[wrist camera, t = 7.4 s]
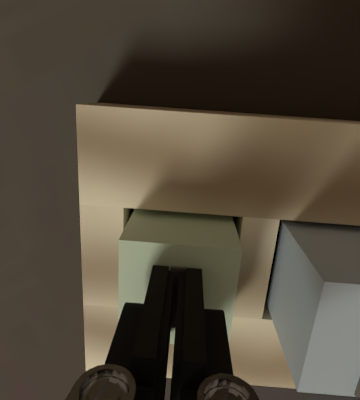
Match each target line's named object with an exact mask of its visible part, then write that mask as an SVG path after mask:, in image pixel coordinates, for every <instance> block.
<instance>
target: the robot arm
mask: <svg viewBox="0 0 360 400" xmlns="http://www.w3.org/2000/svg"><path fill="white" fill-rule="evenodd" d="M174 273H175V271H169V266H159V265H153V267H152V271H151V275H150V279H149V284H148V288H147V292H146V296H145V300H144V304H142V303H129V302H126V303H125V304H124V306H123V309H122V312H121V315H120V318H119V322H118V325H117V328H116V331H115V334H114V337H113V340H112V343H111V346H110V349H109V352H108V355H107V358H106V361H105V364H104V365H98V366H96V367H93V368H91V369H89V370H88V371H86V372H85V373H84V374H82V375H81V376H80V377H79V379H78V380H77V381H76V382H75V384H74V386H73V387H72V389H71V391H70V393H69V394H68V396H67V398H66V399H65V400H164V397H165V387H166V376H167V365H168V355H169V344H170V331H171V316H172V302H173V288H174ZM170 400H259V398H258V396H257V394H256V393H255V391H254V389H253V388H252V387H251V386H250V385H249V384H248V383H247V382H245V381H244V380H242V379H241V378H239V377H237V376H234V375H233V369H232V362H231V355H230V348H229V341H228V334H227V327H226V321H225V314H224V311H223V310H216V309H204V297H203V278H202V269H197V268H186V272H181V271H180V274H179V287H178V300H177V313H176V327H175V340H174V353H173V367H172V380H171V393H170Z"/></svg>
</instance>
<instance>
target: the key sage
mask: <svg viewBox="0 0 360 400" xmlns="http://www.w3.org/2000/svg"><path fill="white" fill-rule="evenodd" d="M242 251H243V249H242V246H241V243H240V240H239V236H238V233H237V230H236V227H235V224H234V221H233V217H232V216H225V215H212V214H199V213H186V212H173V211H160V210H147V209H134V211H133V213H132V215H131V217H130V219H129V221H128V223H127V225H126V227H125V228H124V230H123V232H122V234H121V236H120V238H119V272H118V322H119V318H120V315H121V312H122V309H123V306H124V304H125V303H126V302H129V303H142V304H144V300H145V296H146V292H147V288H148V284H149V279H150V275H151V271H152V267H153V265H159V266H169V271H175V273H174V288H173V302H172V316H171V331H170V344H174V340H175V327H176V313H177V300H178V287H179V274H180V271H181V272H186V268H197V269H202V278H203V297H204V309H216V310H223V311H224V314H225V321H226V327H227V334H228V341H230V334H231V327H232V320H233V313H234V306H235V299H236V292H237V285H238V278H239V271H240V265H241V258H242Z"/></svg>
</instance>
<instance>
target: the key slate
mask: <svg viewBox="0 0 360 400" xmlns="http://www.w3.org/2000/svg"><path fill="white" fill-rule="evenodd" d="M266 304H267V306H268V309H269V312H270V315H271V318H272V321H273V324H274V327H275V329H276V332H277V335H278V338H279V341H280V344H281V347H282V349H283V352H284V355H285V358H286V361H287V364H288V367H289V370H290V372H291V375H292V378H293V381H294V384H295V387H296V390H297V392H306V393H318V394H330V395H341V396H353V397H360V227H359V226H346V225H333V224H320V223H307V222H294V221H281V227H280V232H279V238H278V243H277V249H276V254H275V260H274V265H273V271H272V276H271V282H270V287H269V293H268V298H267V303H266Z"/></svg>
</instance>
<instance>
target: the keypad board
mask: <svg viewBox="0 0 360 400" xmlns="http://www.w3.org/2000/svg"><path fill="white" fill-rule="evenodd" d="M76 122H77V149H78V175H79V202H80V228H81V254H82V281H83V307H84V334H85V360H86V371H88V370H89V369H91V368H93V367H96V366H98V365H104V364H105V361H106V358H107V355H108V352H109V349H110V346H111V343H112V340H113V337H114V334H115V331H116V328H117V325H118V272H119V238H120V236H121V234H122V232H123V230H124V228H125V227H126V225H127V223H128V221H129V219H130V217H131V215H132V213H133V211H134V209H147V210H160V211H173V212H186V213H199V214H212V215H225V216H232V217H233V221H234V224H235V227H236V230H237V233H238V236H239V240H240V243H241V246H242V249H243V251H242V258H241V265H240V271H239V278H238V285H237V292H236V299H235V306H234V313H233V320H232V327H231V334H230V341H229V348H230V355H231V362H232V369H233V375H234V376H237V377H239V378H241V379H242V380H244V381H245V382H247V383H248V384H249V385H259V386H271V387H282V388H294V389H296V387H295V384H294V381H293V378H292V375H291V372H290V370H289V367H288V364H287V361H286V358H285V355H284V352H283V349H282V347H281V344H280V341H279V338H278V335H277V332H276V329H275V327H274V324H273V321H272V318H271V315H270V312H269V309H268V306H267V304H266V303H267V298H268V293H269V287H268V283H269V278H270V272H271V266H272V261H273V255H274V250H275V244H276V239H277V233H278V228H279V222H280V220H291V221H304V222H317V223H330V224H343V225H356V226H360V121H352V120H338V119H323V118H309V117H295V116H281V115H267V114H253V113H239V112H224V111H210V110H196V109H182V108H168V107H154V106H140V105H125V104H111V103H97V102H96V103H85V104H76ZM173 353H174V344H169V355H168V365H167V376H166V378H172V367H173Z"/></svg>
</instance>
